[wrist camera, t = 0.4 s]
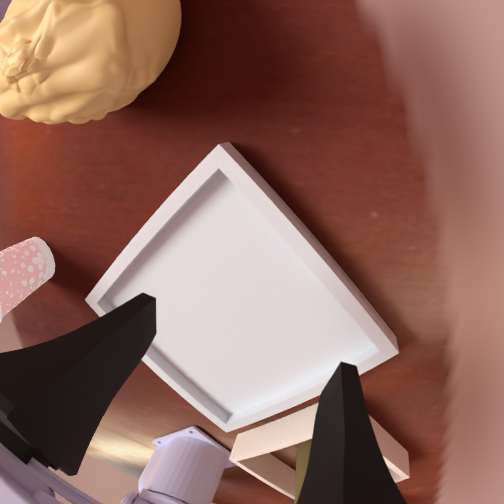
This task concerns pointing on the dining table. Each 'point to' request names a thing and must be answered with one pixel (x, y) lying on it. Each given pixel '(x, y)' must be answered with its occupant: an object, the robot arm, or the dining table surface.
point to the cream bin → (295, 431)
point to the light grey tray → (242, 297)
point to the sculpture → (82, 56)
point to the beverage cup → (23, 271)
